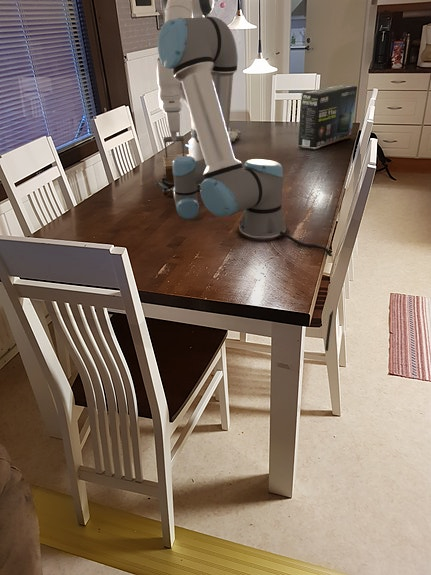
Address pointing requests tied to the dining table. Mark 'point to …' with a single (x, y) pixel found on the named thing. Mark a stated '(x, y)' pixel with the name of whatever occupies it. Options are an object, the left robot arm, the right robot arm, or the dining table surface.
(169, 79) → the left robot arm
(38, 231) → the dining table surface
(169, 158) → the lid
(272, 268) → the dining table surface
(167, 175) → the chest
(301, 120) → the router box
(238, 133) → the fossil
